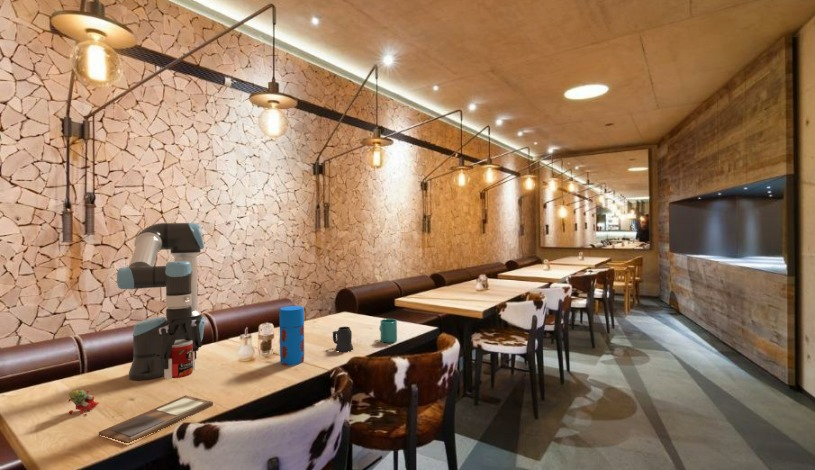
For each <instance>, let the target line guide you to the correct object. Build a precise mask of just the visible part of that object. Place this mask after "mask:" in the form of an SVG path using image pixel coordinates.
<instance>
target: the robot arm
mask: <svg viewBox="0 0 815 470" xmlns="http://www.w3.org/2000/svg"><path fill="white" fill-rule="evenodd" d="M133 244H134V246H135V247H134V250H133V253H132V256H131V259H130V262H129V265H128V266H126V267H120V268H118V270H117V272H116V285H117V288H118V289H120V290H138V289H141V290H142V289H153V288H165V307H167V308H166V309H165V314H166V316H158V317H152V318H147V319H144V320H141V321H138V322H137V323H135V324H134V325H133V332H132V339H133V343H132V344H133V360H132V362H131V366H130V368H129V371H128V379H129V380H132V381H145V380H152V379H156V378H157V379H158V378H160V377H163V376H164V377H163V378H164V379H167V380H172V379H173V378H172V359H171V358H169V357H170V354H171V351H172V345H174V343H175V340H182V339H185V340H188V341H190V340H192V342H193V371H196V360H197V352H198V351H199V349H200V348H202V346H203V345H202V341H203V337H204V329H205V323H206V322H205V321H206V318H205V317H204V316H202V312H201V311H200V310H199V309H198V256H199V255H200V254H201V250H203V249H204V248H205V247H204V246H205V245H204V240H203V233H202V227H201V225H200V224H199V223H193V222H168V223H167V222H166V223H165V222H160V223H159V222H158V223H156V224H151V225H149V226H147V227H146V228H144V229H142V230H140V232H139V233H138V234H137V235H136V237H135V239H134V243H133ZM160 250H161V251H162V250H167V251H168V250H169V251H170V255H172V257H174V261H173V260H172V261H168V262H166V263H165V265H155V264H156V258H157V256H158V252H159V251H160Z"/></svg>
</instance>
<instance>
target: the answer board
mask: <svg viewBox="0 0 815 470" xmlns="http://www.w3.org/2000/svg"><path fill="white" fill-rule="evenodd" d="M212 406H214V401H210V400H207V399H202V398H198V397H194V396H189V395H185V394H184V395H182V396H180V397H179V398H176V399H174V400H171V401H169V402H166V403H164V404H162V405H159V406H157V407H154V408H152V409H149V410H148V411H145V412H143V413H140V414H139V415H136V416H134V417H130V418H128V419H126V420H124V421H121V422H119V423H117V424H114V425H112V426H109V427H107V428H105V429H103V430H100V431H98V436H99V435H101V436H105V437H108V438H112V439H115V440H118V441H121V442H124V443H130V442H132V441H134V440H137V439H139V438H142V437H144V436H147V435H149V434H151V433H154V432H156V431H158V430H160V431H162V430H161V429H163V428H165V429H166V427H167V428H168V426H169V427H171V426H173V425H175V424H177V423H179V422H181V421H183V420H185V419H187V418H186V417H188V416H190V417H191V415H192V416H194V415H195V414H196V415H197V414H198V413H200V412H202V411H204V410H207V409H208V408H210V407H212ZM193 414H194V415H193ZM184 418H185V419H184ZM188 418H189V417H188ZM182 419H183V420H182ZM180 420H181V421H180ZM178 421H179V422H178ZM176 422H177V423H176ZM174 423H175V424H174ZM172 424H173V425H172ZM170 425H171V426H170ZM163 430H164V429H163ZM158 432H159V431H158ZM156 433H157V432H156ZM154 434H155V433H154Z"/></svg>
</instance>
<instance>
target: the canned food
mask: <svg viewBox="0 0 815 470" xmlns="http://www.w3.org/2000/svg"><path fill="white" fill-rule="evenodd" d="M169 358H171V359H172V379H181V378H186V377H188V376H191V375H192V374H193V342H192V340H190V341H188V340H185V339H182V340H175V343H174V345H172V351H171V354H170V357H169Z"/></svg>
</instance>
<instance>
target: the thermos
mask: <svg viewBox="0 0 815 470" xmlns="http://www.w3.org/2000/svg"><path fill="white" fill-rule="evenodd" d="M304 309H305V308H304V306H302V305H288V306H284V307H280V308H279V356H280V365H282V366H296V365H301V364H302V363H304V361H305V310H304Z"/></svg>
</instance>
